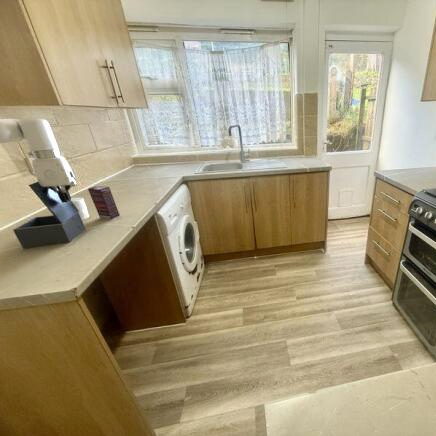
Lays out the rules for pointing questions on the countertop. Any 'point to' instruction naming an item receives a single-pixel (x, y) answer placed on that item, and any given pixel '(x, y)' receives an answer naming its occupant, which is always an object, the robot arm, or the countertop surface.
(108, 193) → the supplement box
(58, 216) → the lid
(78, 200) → the white cup
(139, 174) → the countertop surface
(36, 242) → the box
